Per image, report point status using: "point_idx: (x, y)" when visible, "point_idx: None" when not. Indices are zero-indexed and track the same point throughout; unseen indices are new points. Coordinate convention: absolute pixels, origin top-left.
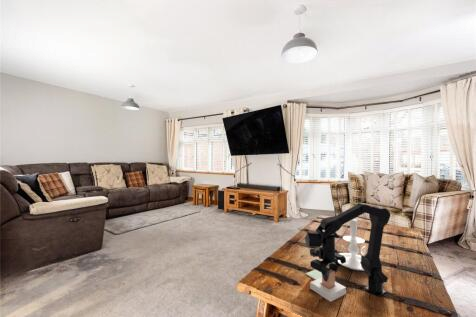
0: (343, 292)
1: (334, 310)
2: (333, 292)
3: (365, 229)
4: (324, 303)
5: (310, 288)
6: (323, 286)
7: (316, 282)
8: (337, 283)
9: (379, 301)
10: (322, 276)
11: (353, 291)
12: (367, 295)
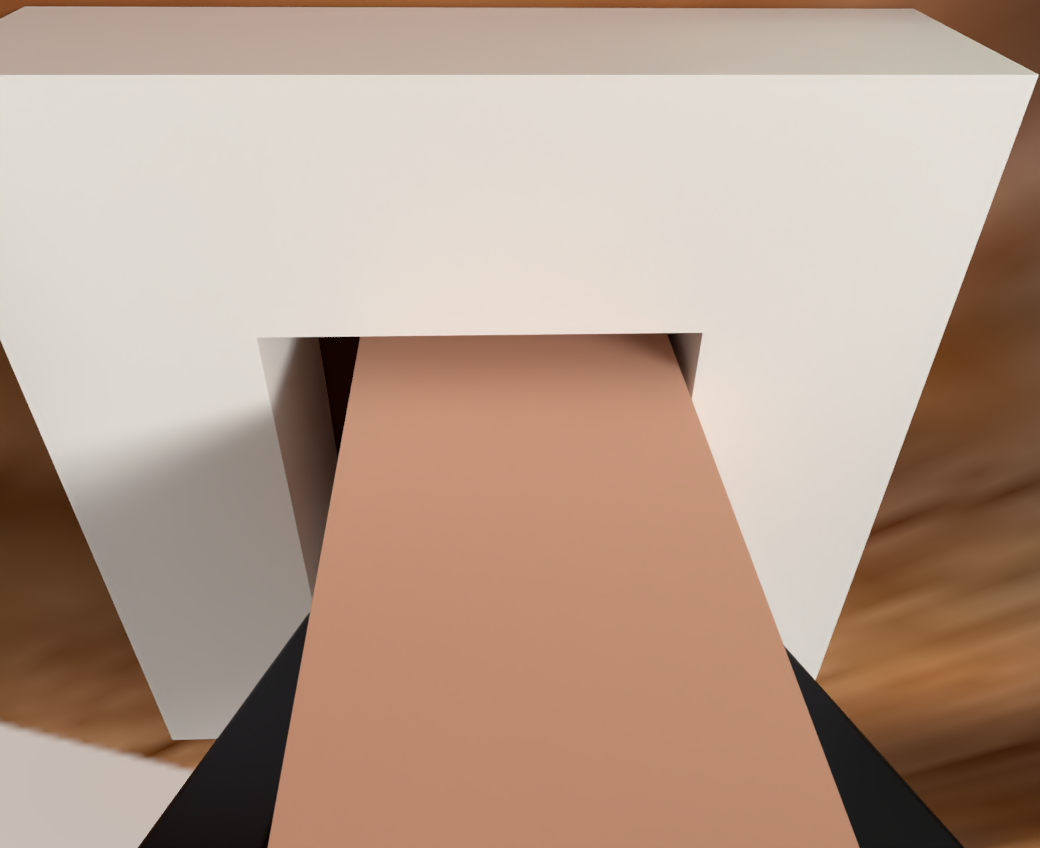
0: None
1: (112, 723)
2: None
3: None
4: (45, 582)
5: (25, 14)
6: (262, 499)
7: (184, 234)
8: (811, 578)
9: (961, 830)
10: (312, 619)
11: (974, 606)
12: (1013, 734)
